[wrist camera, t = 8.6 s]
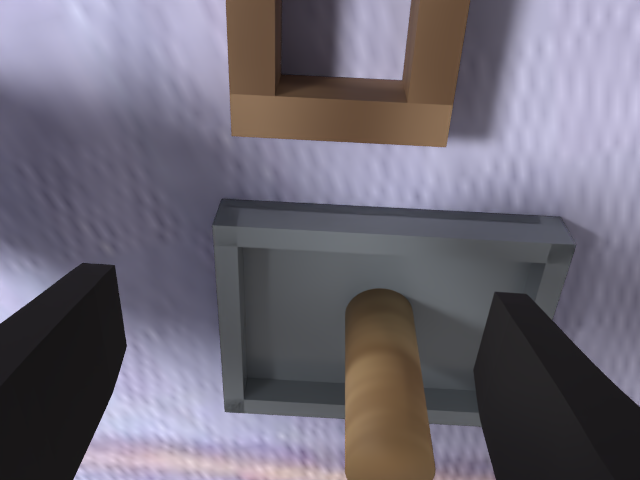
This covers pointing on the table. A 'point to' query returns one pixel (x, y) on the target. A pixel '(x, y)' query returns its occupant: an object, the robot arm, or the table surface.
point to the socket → (345, 82)
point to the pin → (384, 391)
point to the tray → (358, 276)
